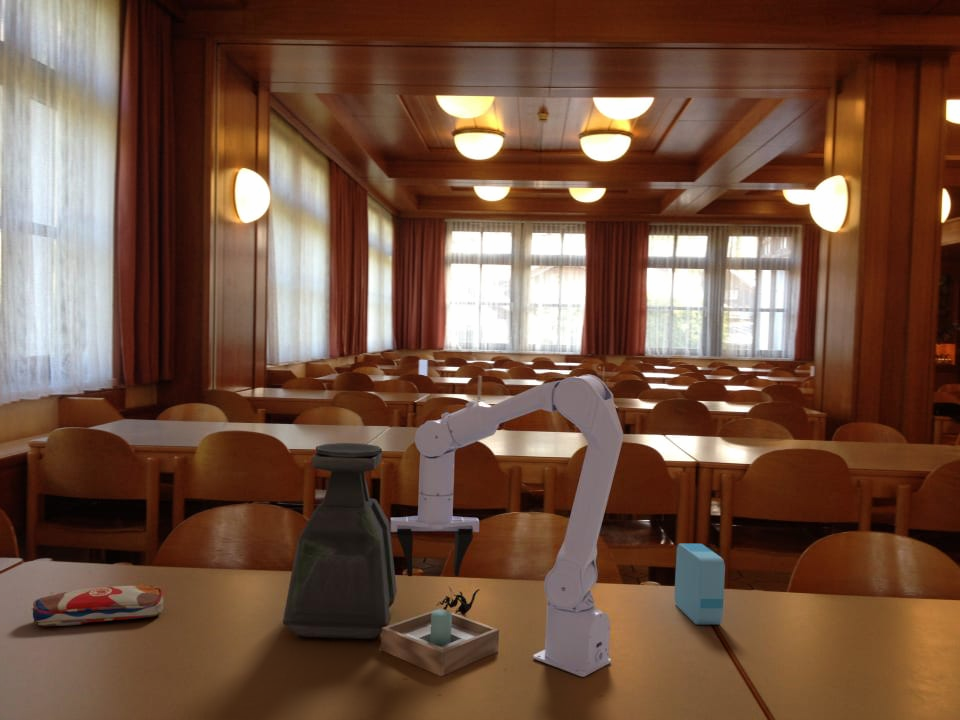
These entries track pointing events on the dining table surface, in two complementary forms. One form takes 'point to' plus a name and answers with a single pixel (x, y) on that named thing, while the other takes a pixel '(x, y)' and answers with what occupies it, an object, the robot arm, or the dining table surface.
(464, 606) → the creature
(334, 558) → the dark faceted flask
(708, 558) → the data package
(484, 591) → the dining table surface
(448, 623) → the peg
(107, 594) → the pencil case
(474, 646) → the box
